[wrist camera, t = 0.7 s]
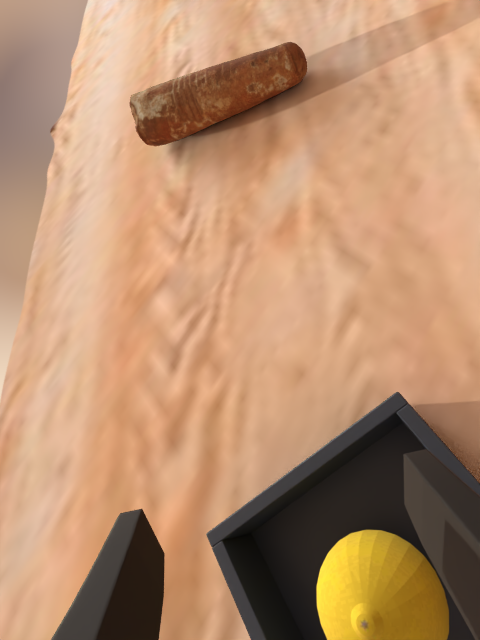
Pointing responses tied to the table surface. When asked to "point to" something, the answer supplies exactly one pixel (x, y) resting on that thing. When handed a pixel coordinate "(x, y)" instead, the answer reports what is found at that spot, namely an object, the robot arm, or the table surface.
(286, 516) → the bin
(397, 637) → the lemon
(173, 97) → the brown cylinder
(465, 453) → the table surface
